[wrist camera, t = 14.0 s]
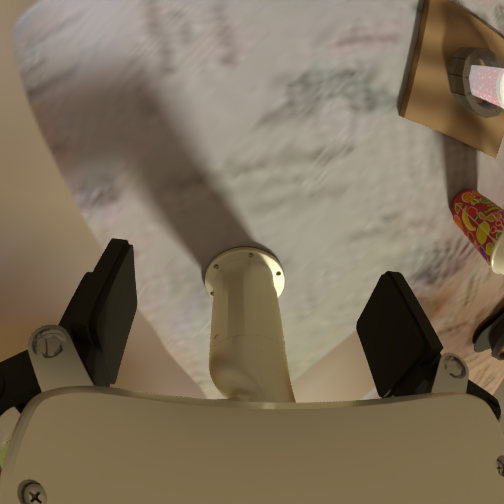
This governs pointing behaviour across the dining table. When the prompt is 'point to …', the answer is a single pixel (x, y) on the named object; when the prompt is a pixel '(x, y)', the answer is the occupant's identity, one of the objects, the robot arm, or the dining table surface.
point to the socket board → (435, 80)
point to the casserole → (492, 339)
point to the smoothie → (481, 226)
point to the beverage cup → (488, 84)
